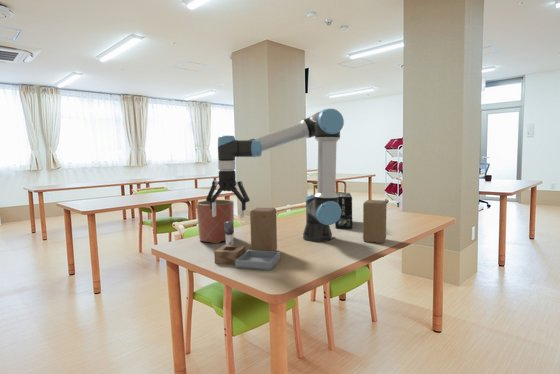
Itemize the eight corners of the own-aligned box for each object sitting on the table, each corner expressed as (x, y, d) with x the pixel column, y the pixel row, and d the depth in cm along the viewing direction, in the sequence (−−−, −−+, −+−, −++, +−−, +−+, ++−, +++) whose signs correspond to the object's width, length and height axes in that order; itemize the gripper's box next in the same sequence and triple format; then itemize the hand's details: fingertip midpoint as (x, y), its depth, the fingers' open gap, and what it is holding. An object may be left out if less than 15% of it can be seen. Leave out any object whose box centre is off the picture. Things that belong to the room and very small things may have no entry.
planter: (217, 246, 163) (216, 205, 161) (190, 241, 173) (188, 203, 171) (242, 237, 179) (240, 200, 177) (215, 233, 189) (214, 198, 187)
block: (386, 239, 170) (386, 200, 168) (383, 244, 161) (384, 203, 159) (366, 237, 174) (366, 199, 172) (362, 242, 165) (362, 202, 163)
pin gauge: (235, 250, 155) (234, 221, 153) (232, 253, 151) (231, 223, 149) (227, 250, 156) (226, 220, 154) (223, 252, 152) (222, 222, 150)
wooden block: (272, 256, 145) (271, 211, 143) (250, 255, 147) (249, 210, 145) (277, 249, 155) (276, 207, 153) (256, 249, 157) (255, 207, 155)
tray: (280, 258, 142) (280, 251, 142) (270, 270, 128) (270, 262, 127) (248, 256, 145) (247, 249, 145) (235, 267, 131) (235, 260, 131)
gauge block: (245, 257, 145) (245, 245, 144) (237, 264, 135) (236, 252, 135) (224, 255, 147) (224, 244, 147) (214, 263, 138) (214, 251, 137)
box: (334, 220, 218) (334, 192, 216) (349, 221, 217) (350, 192, 215) (335, 228, 195) (335, 196, 193) (352, 229, 194) (352, 196, 192)
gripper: (256, 170, 150) (256, 216, 152) (205, 169, 156) (206, 214, 158) (250, 170, 143) (251, 219, 145) (197, 170, 149) (199, 217, 151)
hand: (228, 217), depth 151 cm, fingers open, 13 cm apart
